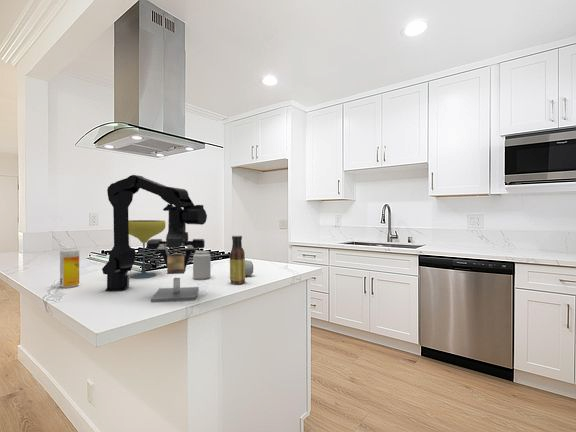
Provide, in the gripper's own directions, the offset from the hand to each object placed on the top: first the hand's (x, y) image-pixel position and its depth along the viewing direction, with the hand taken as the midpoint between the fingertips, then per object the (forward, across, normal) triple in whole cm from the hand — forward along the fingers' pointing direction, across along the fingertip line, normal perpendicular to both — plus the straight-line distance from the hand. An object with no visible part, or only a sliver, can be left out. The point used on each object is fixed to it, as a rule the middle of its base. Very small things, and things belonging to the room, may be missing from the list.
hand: (176, 268), depth 108 cm
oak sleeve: (+2, 0, 0) cm, 2 cm away
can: (+10, +7, +27) cm, 30 cm away
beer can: (+10, -42, +20) cm, 47 cm away
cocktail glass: (+10, -19, +36) cm, 42 cm away
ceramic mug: (+10, +25, +30) cm, 40 cm away
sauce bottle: (+10, +22, +15) cm, 28 cm away
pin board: (+10, 0, 0) cm, 10 cm away
